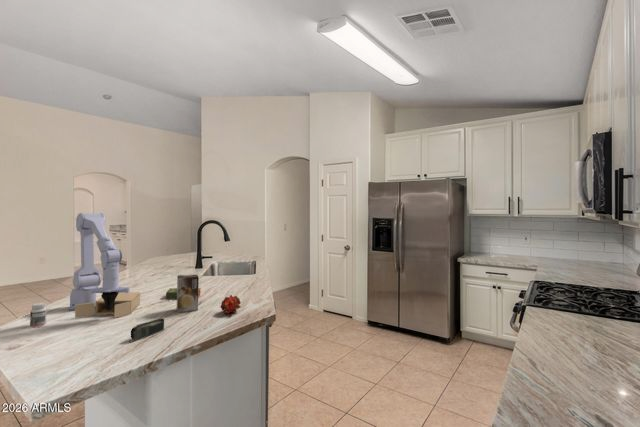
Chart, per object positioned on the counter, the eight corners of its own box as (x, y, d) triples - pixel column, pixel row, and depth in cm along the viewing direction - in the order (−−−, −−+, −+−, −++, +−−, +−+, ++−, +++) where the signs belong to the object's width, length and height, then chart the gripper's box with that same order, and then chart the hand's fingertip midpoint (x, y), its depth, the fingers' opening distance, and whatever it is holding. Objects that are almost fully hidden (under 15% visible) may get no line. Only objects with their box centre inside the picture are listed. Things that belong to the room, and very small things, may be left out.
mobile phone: (160, 316, 130) (126, 328, 116) (166, 318, 129) (132, 329, 115) (159, 329, 130) (125, 341, 116) (165, 330, 129) (131, 343, 115)
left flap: (94, 314, 140) (94, 302, 140) (94, 315, 140) (94, 302, 140) (75, 317, 136) (75, 304, 136) (75, 317, 136) (75, 304, 136)
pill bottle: (32, 323, 128) (33, 302, 128) (47, 322, 130) (48, 301, 130) (27, 327, 124) (28, 306, 124) (43, 326, 126) (43, 305, 126)
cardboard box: (95, 315, 141) (95, 301, 141) (107, 305, 154) (108, 292, 154) (130, 313, 144) (131, 300, 144) (139, 304, 158) (140, 292, 158)
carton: (197, 299, 172) (198, 291, 172) (165, 300, 168) (165, 291, 168) (200, 295, 180) (200, 287, 180) (169, 295, 176) (169, 287, 176)
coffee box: (196, 306, 159) (197, 274, 159) (198, 310, 153) (199, 276, 153) (176, 308, 155) (177, 275, 154) (177, 312, 149) (178, 277, 149)
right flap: (114, 317, 138) (115, 305, 138) (114, 317, 138) (114, 305, 138) (130, 313, 144) (130, 301, 143) (129, 313, 144) (130, 301, 144)
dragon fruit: (239, 311, 159) (224, 323, 147) (226, 300, 160) (211, 310, 149) (247, 299, 156) (233, 310, 145) (234, 288, 157) (220, 298, 146)
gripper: (87, 280, 132) (86, 313, 132) (126, 279, 136) (125, 311, 136) (94, 276, 139) (93, 307, 139) (131, 276, 143) (130, 306, 143)
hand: (109, 309), depth 138 cm, fingers closed
